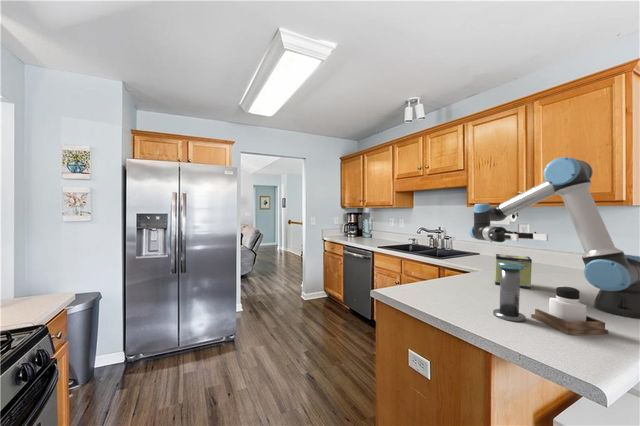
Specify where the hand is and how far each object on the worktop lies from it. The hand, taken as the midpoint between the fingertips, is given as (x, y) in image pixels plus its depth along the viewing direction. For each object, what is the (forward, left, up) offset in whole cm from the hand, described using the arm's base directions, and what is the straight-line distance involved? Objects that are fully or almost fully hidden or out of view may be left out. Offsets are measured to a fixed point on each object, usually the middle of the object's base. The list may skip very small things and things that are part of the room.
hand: (532, 237), depth 114 cm
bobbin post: (+19, +11, -29) cm, 36 cm away
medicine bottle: (+4, +19, -28) cm, 34 cm away
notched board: (+4, +19, -29) cm, 35 cm away
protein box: (-17, -31, -29) cm, 46 cm away
